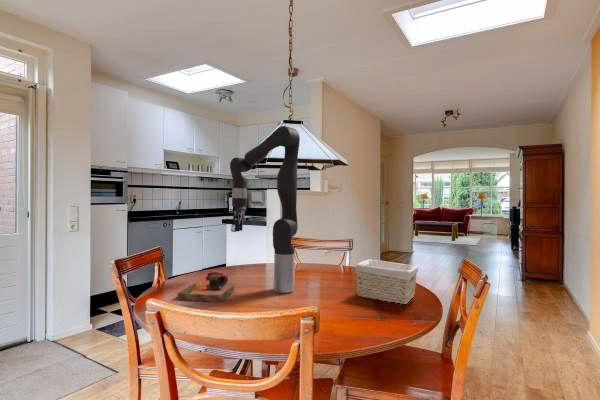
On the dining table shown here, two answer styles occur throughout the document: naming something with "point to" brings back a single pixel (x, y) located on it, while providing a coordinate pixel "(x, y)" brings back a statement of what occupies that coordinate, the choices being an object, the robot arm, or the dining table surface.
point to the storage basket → (386, 281)
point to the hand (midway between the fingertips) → (238, 230)
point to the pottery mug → (216, 280)
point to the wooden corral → (203, 295)
